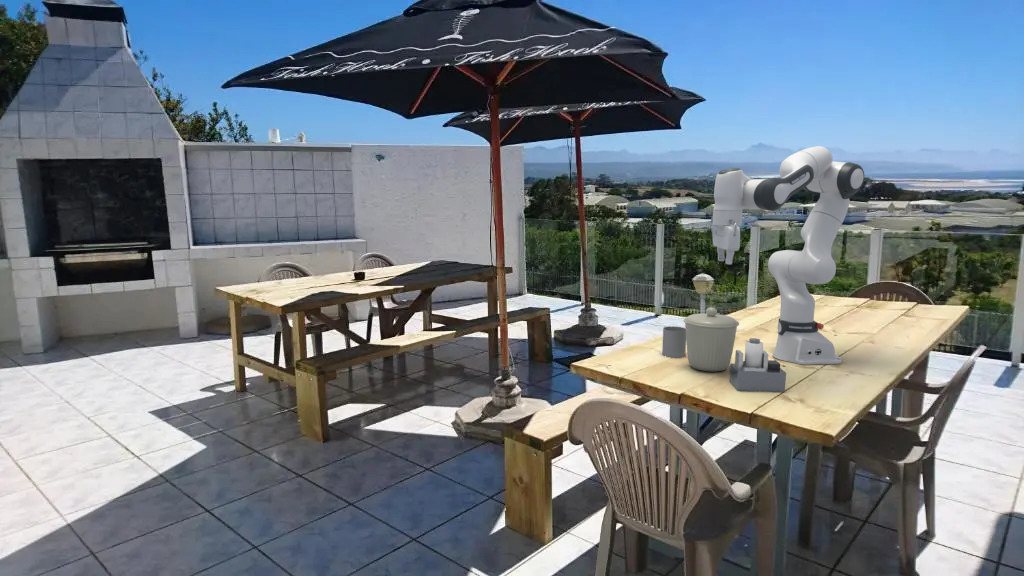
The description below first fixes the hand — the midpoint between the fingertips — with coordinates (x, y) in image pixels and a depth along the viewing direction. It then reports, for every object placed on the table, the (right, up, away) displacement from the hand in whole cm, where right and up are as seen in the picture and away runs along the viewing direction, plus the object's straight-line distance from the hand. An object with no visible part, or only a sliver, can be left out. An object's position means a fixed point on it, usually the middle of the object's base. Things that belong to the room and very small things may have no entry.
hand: (724, 262), depth 196 cm
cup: (-9, -33, +28) cm, 45 cm away
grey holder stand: (+7, -39, -9) cm, 40 cm away
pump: (+5, -33, -10) cm, 35 cm away
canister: (-1, -36, +12) cm, 38 cm away
